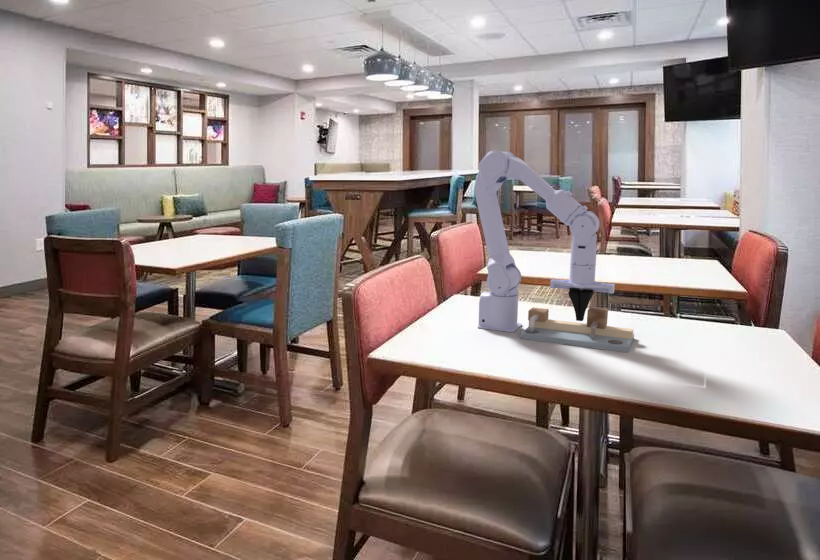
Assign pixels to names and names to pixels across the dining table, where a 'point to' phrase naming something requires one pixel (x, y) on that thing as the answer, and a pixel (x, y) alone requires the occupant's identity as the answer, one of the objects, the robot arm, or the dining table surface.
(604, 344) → the gauge board
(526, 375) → the dining table surface
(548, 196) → the robot arm
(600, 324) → the slider
